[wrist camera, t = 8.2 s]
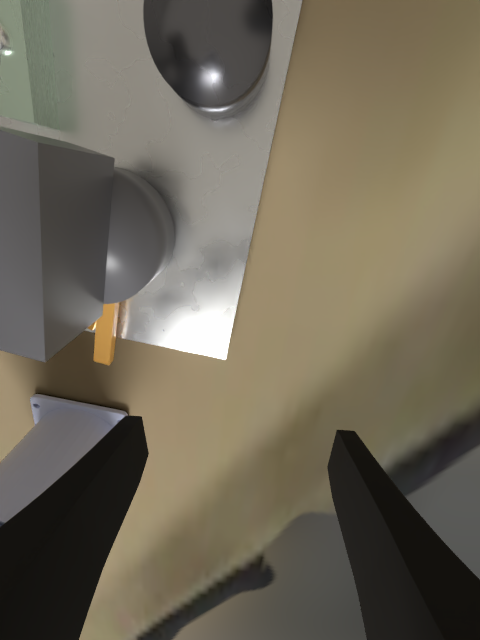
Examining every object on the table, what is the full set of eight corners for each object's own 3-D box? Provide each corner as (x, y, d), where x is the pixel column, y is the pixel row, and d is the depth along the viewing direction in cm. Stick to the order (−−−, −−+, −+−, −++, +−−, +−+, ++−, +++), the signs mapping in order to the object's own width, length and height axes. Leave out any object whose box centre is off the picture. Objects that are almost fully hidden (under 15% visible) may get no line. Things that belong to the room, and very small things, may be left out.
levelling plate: (227, 347, 19) (220, 382, 16) (-55, 289, 19) (-127, 312, 15) (303, -6, 11) (322, -91, 8) (-185, -129, 11) (-397, -280, 7)
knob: (187, 178, 13) (121, 170, 7) (150, 368, 18) (95, 462, 12) (63, 136, 13) (-129, 86, 6) (62, 343, 18) (-43, 427, 12)
